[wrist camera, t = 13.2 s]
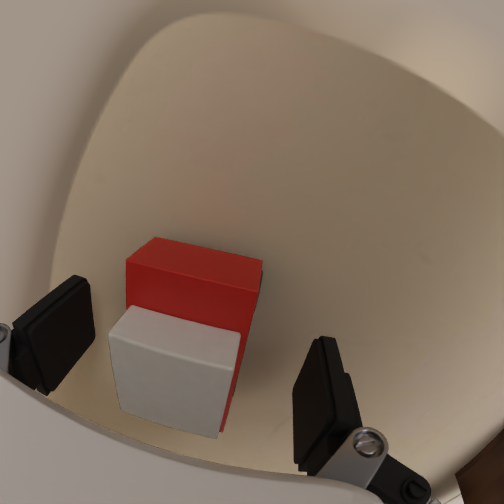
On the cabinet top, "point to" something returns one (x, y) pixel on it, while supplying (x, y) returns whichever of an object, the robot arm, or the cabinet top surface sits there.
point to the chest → (484, 475)
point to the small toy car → (183, 334)
